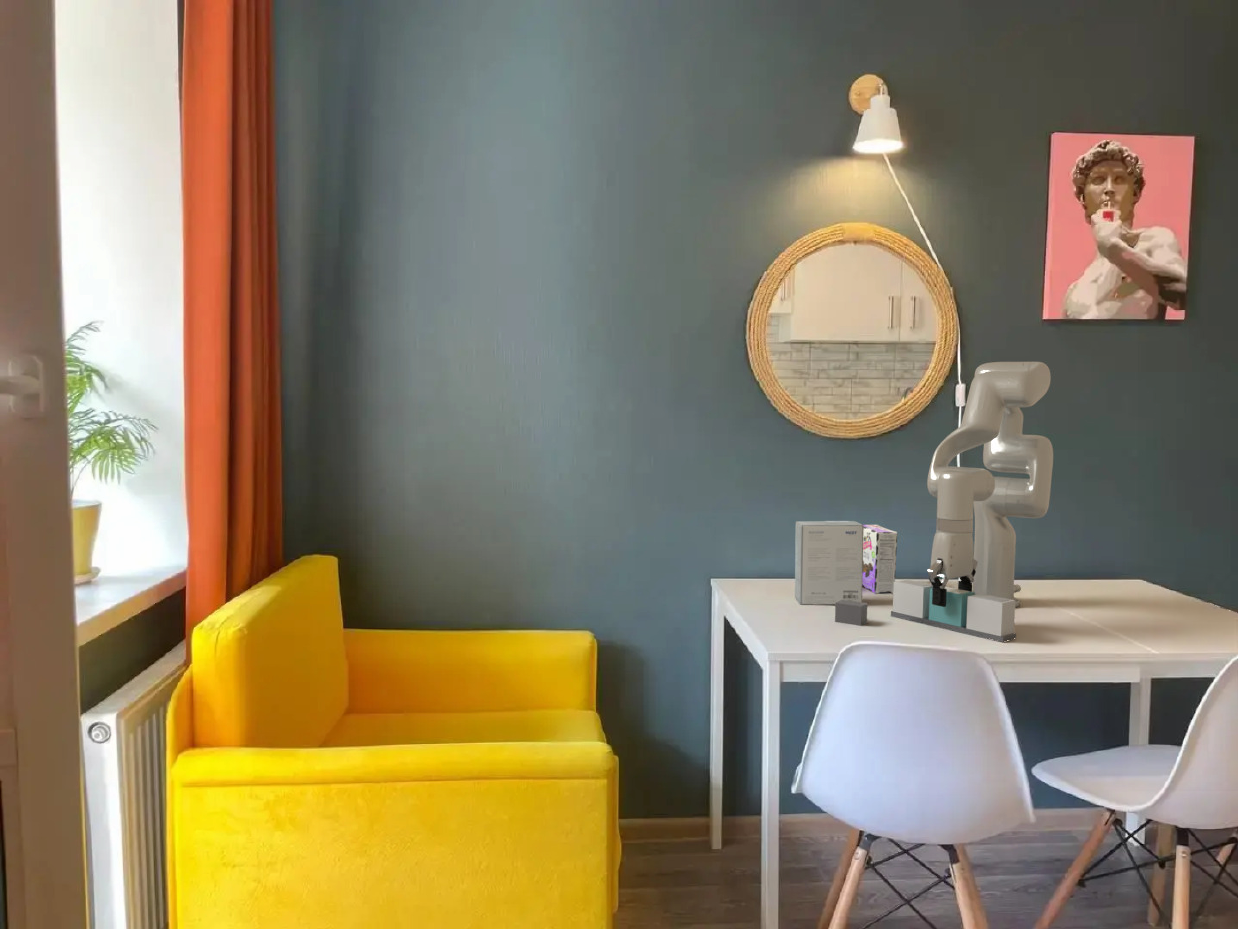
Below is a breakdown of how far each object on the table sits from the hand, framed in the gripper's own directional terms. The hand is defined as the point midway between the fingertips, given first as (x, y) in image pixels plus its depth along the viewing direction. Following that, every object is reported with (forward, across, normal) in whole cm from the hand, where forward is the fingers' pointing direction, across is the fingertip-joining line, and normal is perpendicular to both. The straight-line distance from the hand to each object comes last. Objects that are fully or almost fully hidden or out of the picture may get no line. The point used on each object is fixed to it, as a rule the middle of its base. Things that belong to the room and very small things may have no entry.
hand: (952, 602), depth 203 cm
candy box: (+6, -20, -36) cm, 42 cm away
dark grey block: (+5, +16, -15) cm, 23 cm away
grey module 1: (+4, +1, -9) cm, 10 cm away
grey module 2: (+4, +1, +10) cm, 11 cm away
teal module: (+4, 0, 0) cm, 4 cm away
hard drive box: (+6, +4, -32) cm, 33 cm away
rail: (+5, +1, 0) cm, 5 cm away
